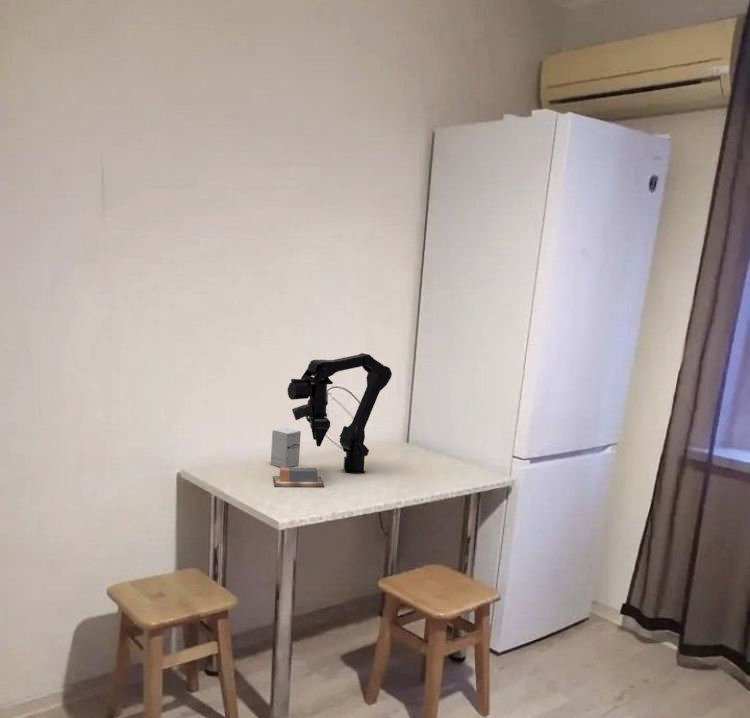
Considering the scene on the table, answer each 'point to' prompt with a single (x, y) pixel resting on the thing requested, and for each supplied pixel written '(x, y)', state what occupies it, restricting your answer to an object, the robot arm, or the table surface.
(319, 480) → the writing board
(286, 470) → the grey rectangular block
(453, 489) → the table surface
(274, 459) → the supplement box
